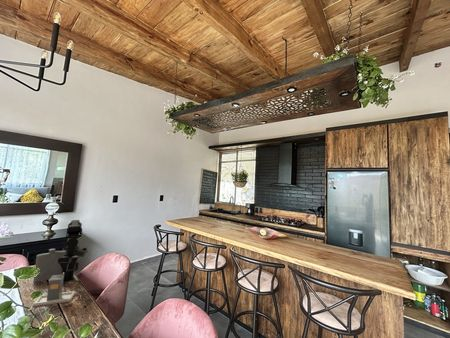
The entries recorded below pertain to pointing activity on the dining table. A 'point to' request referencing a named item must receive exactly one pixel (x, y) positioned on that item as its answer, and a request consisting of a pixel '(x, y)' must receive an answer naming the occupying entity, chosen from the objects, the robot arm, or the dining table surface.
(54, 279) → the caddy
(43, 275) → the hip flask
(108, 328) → the dining table surface
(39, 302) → the tray
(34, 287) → the dining table surface
